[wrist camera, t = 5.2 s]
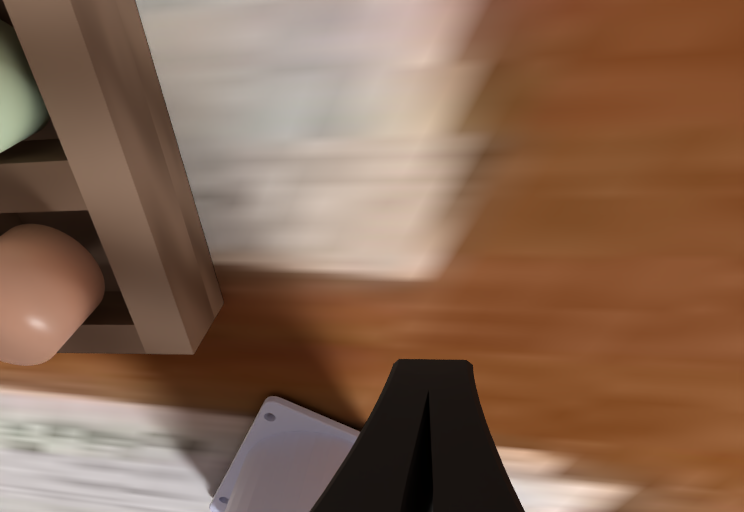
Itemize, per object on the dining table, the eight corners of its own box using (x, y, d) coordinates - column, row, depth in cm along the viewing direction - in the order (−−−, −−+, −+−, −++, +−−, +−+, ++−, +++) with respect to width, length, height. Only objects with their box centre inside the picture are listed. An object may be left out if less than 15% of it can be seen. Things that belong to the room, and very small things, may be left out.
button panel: (223, 302, 22) (193, 354, 20) (42, 303, 24) (-8, 352, 21) (18, -394, 13) (-93, -465, 10) (-271, -325, 14) (-431, -373, 11)
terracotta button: (119, 315, 19) (78, 366, 17) (25, 315, 20) (-25, 364, 18) (80, 222, 18) (28, 266, 15) (-22, 225, 18) (-85, 268, 16)
